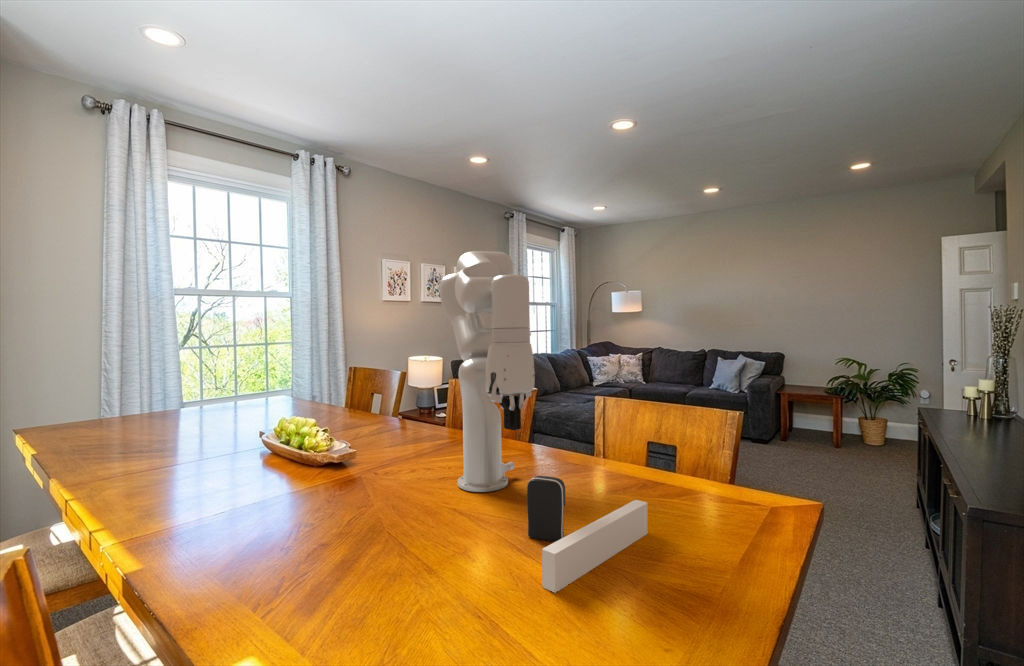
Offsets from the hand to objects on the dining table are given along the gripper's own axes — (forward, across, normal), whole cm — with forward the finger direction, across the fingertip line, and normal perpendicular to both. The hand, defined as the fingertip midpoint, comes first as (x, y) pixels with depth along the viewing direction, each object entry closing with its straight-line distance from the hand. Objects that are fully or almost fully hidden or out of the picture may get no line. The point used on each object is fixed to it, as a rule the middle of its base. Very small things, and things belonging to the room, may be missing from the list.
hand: (512, 428), depth 100 cm
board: (+20, 0, +20) cm, 28 cm away
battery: (+20, 0, +8) cm, 21 cm away
